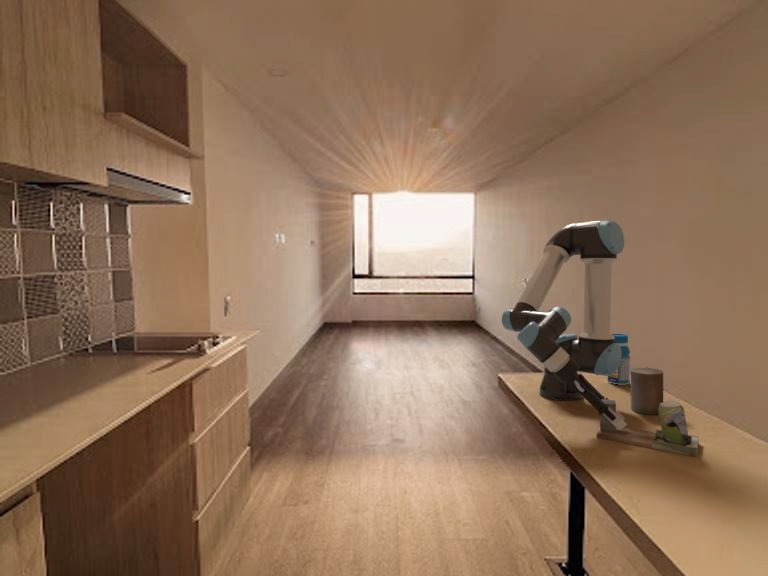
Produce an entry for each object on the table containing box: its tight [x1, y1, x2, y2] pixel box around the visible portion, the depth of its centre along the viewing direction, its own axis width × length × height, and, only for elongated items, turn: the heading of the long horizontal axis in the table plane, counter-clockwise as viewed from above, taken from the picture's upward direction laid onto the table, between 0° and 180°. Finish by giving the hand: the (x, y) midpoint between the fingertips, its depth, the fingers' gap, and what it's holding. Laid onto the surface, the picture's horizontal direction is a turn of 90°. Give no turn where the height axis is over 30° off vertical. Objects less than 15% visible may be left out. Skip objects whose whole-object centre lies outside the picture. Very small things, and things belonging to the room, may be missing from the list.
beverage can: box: [658, 400, 691, 446], centre depth 125 cm, size 6×7×12 cm
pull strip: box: [596, 398, 699, 458], centre depth 129 cm, size 10×24×10 cm, turn 53°
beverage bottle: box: [607, 333, 631, 386], centre depth 188 cm, size 8×8×20 cm
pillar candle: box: [630, 366, 664, 416], centre depth 154 cm, size 10×10×15 cm
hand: (622, 424), depth 134 cm, fingers closed on pull strip, 4 cm apart
